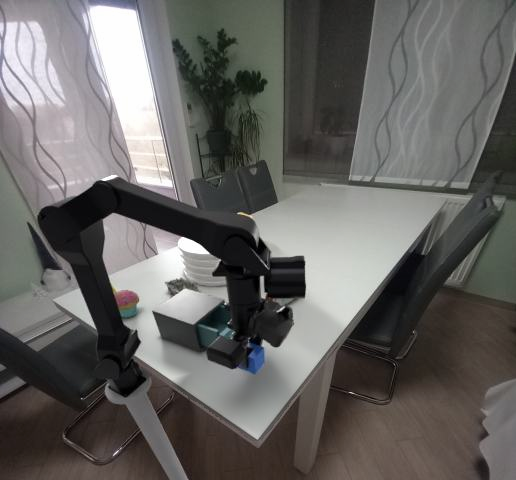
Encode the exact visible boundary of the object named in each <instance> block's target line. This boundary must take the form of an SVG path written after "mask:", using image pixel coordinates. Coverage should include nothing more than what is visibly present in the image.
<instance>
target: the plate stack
mask: <svg viewBox="0 0 516 480" xmlns="http://www.w3.org/2000/svg"><path fill="white" fill-rule="evenodd" d="M177 247H178V249H179V254H180V255H179V256H180V257H181V262H182V267H183V270H184V275H185V278H186V280H189V281H192V282H193V281H195V282H196V283H197V284H198V285H200V286H207V287H223V286H226V279H225V277H213V276H212V272H213V270H214V268H215V265H216V264H217V263H218V262H219V261H220V259H218V258H216V257H214V256H213V255H211V254H210V253H209V252H207V251H206V250H205V249H204V248H203V247H202V246H201V245H199V244H198V243H196V242H194V241H192V240H189V239H186V238H183V237H180V238H179V240H178V242H177Z"/></svg>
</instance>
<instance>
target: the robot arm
mask: <svg viewBox="0 0 516 480" xmlns="http://www.w3.org/2000/svg"><path fill="white" fill-rule="evenodd" d="M113 214H116V215H119V216H122V217H125V218H128V219H130V220H133V221H135V222H138V223H142V224H144V225H147V226H150V227H152V228H156V229H159V230H161V231H164V232H167V233H170V234H172V235H175V236H178V237H180V238H182V237H183V238H186V239H189V240H192V241H194V242H196V243H198V244H199V245H201V246H202V247H203V248H204V249H205V250H206V251H207V252H209V253H210V254H211V255H213V256H214V257H216V258H218V259H220V261H219V262H218V263H217V264H216V265H215V268H214V270H213V272H212V276H213V277H225V279H226V285H225V286H226V292H227V300H228V301H226V302H225V304H224V308H225V310H228V311H230V315H231V320H230V321H229V322H228V323H227V328H229V329H232V330H234V332H233V333H232V334H231V335H230V337H231V339H228V338H225V337H222V336H220V337H218V338H217V339H216V340H215V341H214V342H213V343H212V344H211V345H210V346H209V347H205V354H206V358H207V360H208V361H209V362H212V363H214V364H217V365H220V366H222V367H225V368H226V369H230V370H235V369H238V368H237V367H238V366H239V365H241V366H242V367H243V368H245V369H248V364H249V355H250V354H251V353H252V351H253V350H254V348H251V347H249V342H250V343H253V344H256V345H259V346H262V345H263V341H265V342H266V343H268V344H269V345H270V346H271V347H273V348H280V346H281V345H282V344H283V342H284V341H285V340H286V339H287V337H288V335H289V334H290V331H291V330H292V328H293V326H294V325H295V319H294V311H293V308H292V307H291V306H289V305H288V304H286V305H285V306H283V307H282V306H281V305H280V304H279V303H277V302H273V301H270V300H266V299H265V298H264V297H262V286H261V277H263V292H264V294H266V293H268V298H271V299H295V300H297V299H299V300H303V299H306V296H307V295H306V293H307V280H306V257H305V255H294V256H272V253H273V251H272V250H271V249H270V247H269V246H268V245H267V244H266V242H265V241H264V240H263V239H262V237H261V236H260V229H259V227H258V225H257V223H256V221H255V220H254V219H253V217H252V218H250V217H248V216H246V215H241V214H238V213H235V212H230V211H222V210H219V211H218V210H217V211H216V210H207V209H206V210H205V209H202V208H200V207H197V206H193V205H191V204H188V203H186V202H183V201H180V200H178V199H175V198H172V197H170V196H166V195H164V194H161V193H159V192H156V191H154V190H151V189H148V188H146V187H143V186H140V185H138V184H135V183H133V182H130V181H128V180H126V179H124V178H123V177H121V176H119V175H113V174H112V175H109V176H106V177H104V178H101V179H98V180H96V181H95V182H93V184H92V185H91V186H90V187H88V188H87V189H85V190H84V191H83V192H81V193H78V195H71V196H68V197H66V198H63V199H61V200H58V201H55V202H53V203H50V204H48V205H46V206H44V207H42V208H40V210H39V212H38V214H36V222H37V226H38V227H39V229H40V232H41V233H42V235H43V237H44V238H45V240H46V242H47V244H48V245H49V246H50V248H51V249H52V251H53V252H55V253H56V254H57V255H58V257H61V259H63V261H65V262H67V263H68V264H69V266H70V268H71V271H72V273H73V276H74V278H75V281H76V283H77V285H78V287H79V290H80V293H81V295H82V298H83V300H84V303H85V305H86V307H87V311H88V312H89V315H90V317H91V320H92V322H93V325H94V327H95V330H96V333H97V338H96V344H95V352H96V357H97V361H98V364H97V365H96V367H95V368H94V369H93V371H92V374H93V375H94V376H95V377H96V378H97V379H98V380H106V382H107V383H109V386H108V388H109V389H110V390H112V391H114V392H115V393H117V394H119V395H121V396H123V397H124V398H126V397H128V396H129V395H130V394H131V393H133V392H134V391H135V390H136V389H137V388H138V387H140V386H141V385H142V384H143V383H144V382H145V381H146V380H147V378H146V377H144V376H142V371H141V369H142V368H141V367H140V365H139V363H138V361H136V360H135V359H134V358H133V357H134V356H135V355H136V352H137V351H138V350H139V347H140V346H141V344H142V340H140V337H139V333H138V330H137V328H134V329H133V328H132V329H131V328H130V327H128V326H127V325H126V324H125V323H124V320H123V317H122V316H121V314H120V311H119V308H118V305H117V302H116V298H115V295H114V292H113V289H112V286H113V285H112V286H111V284H112V283H111V280H110V277H109V273H108V270H107V267H106V264H105V262H104V257H103V256H104V250H105V249H104V248H105V241H106V235H105V234H106V233H105V226H104V220H105V219H106V218H108V217H109V216H111V215H113ZM144 379H145V380H144Z"/></svg>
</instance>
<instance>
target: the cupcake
mask: <svg viewBox="0 0 516 480" xmlns="http://www.w3.org/2000/svg"><path fill="white" fill-rule="evenodd" d="M111 286H112V289H113V292H114V295H115V298H116V302H117V305H118V308H119V311H120V314H121V317H122V318H131V317H133V316H135V315H136V314H137V312H138V303H139V302H140V298H139V297H140V296H139V295H138V293H136V292H135V291H133V290H129V289H122V290H119V291H117V290H116V288H114V286H113V284H112V283H111Z"/></svg>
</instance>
